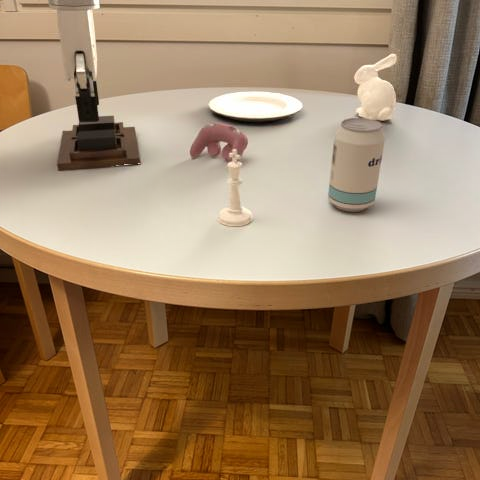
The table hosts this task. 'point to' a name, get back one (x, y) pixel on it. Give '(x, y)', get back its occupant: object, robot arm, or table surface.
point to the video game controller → (212, 138)
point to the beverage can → (356, 164)
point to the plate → (255, 106)
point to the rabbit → (375, 91)
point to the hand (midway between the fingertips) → (89, 113)
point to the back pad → (96, 140)
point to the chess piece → (234, 197)
